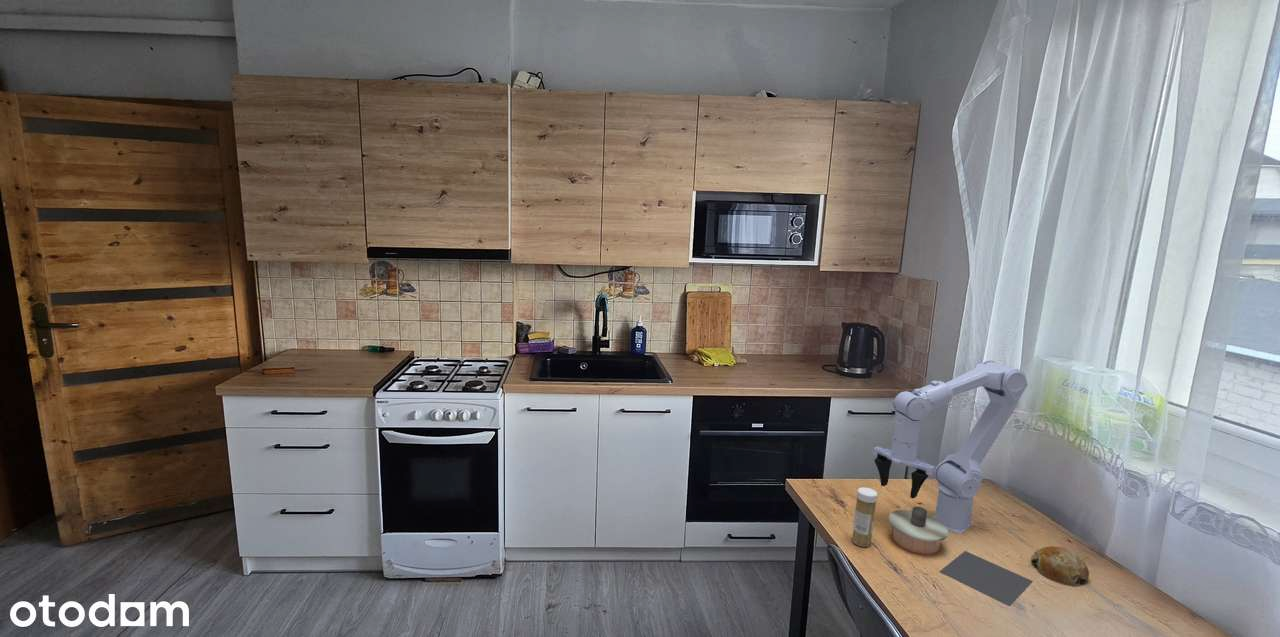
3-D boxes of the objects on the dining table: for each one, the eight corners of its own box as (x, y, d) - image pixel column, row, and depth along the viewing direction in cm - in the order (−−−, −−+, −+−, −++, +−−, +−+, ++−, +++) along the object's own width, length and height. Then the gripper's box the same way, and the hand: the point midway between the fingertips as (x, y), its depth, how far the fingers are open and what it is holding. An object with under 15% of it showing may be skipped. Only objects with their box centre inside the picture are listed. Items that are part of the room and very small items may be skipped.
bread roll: (1058, 603, 125) (1082, 582, 120) (1017, 561, 132) (1039, 540, 128) (1082, 591, 129) (1106, 571, 125) (1041, 552, 136) (1062, 531, 132)
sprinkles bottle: (875, 544, 137) (882, 492, 135) (863, 550, 135) (870, 497, 132) (858, 535, 141) (865, 484, 139) (847, 540, 138) (853, 489, 136)
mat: (964, 552, 136) (965, 550, 136) (1032, 583, 125) (1032, 581, 125) (938, 573, 127) (939, 571, 127) (1009, 608, 116) (1009, 606, 116)
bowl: (904, 527, 146) (907, 511, 145) (945, 546, 138) (948, 529, 137) (885, 540, 139) (887, 523, 139) (926, 560, 132) (929, 542, 131)
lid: (904, 507, 147) (906, 492, 146) (957, 530, 137) (959, 513, 136) (878, 522, 139) (880, 506, 138) (932, 547, 129) (935, 530, 128)
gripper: (869, 434, 145) (863, 483, 147) (927, 453, 134) (919, 507, 136) (883, 428, 149) (877, 477, 152) (941, 447, 138) (933, 499, 141)
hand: (898, 490), depth 144 cm, fingers open, 7 cm apart
